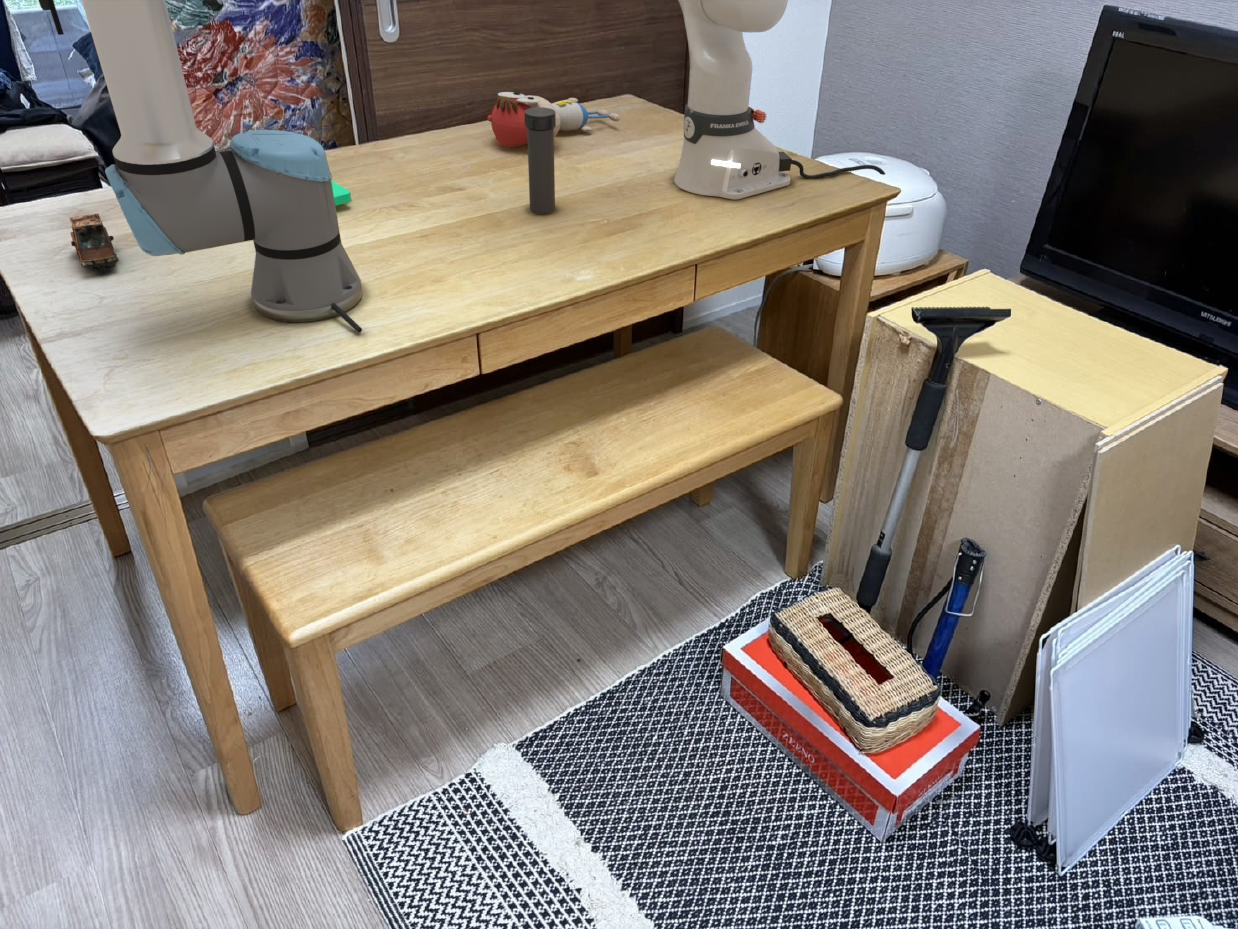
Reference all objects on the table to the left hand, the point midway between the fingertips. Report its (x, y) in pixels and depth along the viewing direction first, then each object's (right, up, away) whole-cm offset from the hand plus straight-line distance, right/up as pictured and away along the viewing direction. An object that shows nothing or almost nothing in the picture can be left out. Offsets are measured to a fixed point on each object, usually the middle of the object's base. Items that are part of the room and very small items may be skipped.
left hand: (108, 29), depth 146 cm
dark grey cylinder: (+67, -24, +18) cm, 73 cm away
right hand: (+73, +10, -9) cm, 74 cm away
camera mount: (+27, -22, +18) cm, 40 cm away
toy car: (0, -37, -3) cm, 38 cm away
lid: (+68, -10, +8) cm, 69 cm away
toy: (+67, +1, +51) cm, 84 cm away
